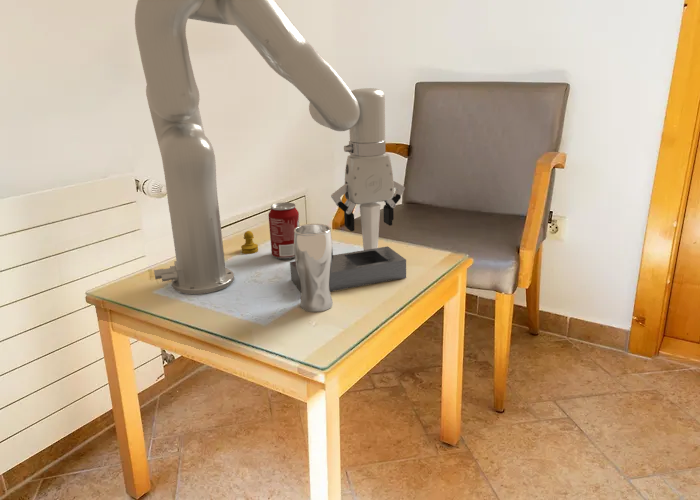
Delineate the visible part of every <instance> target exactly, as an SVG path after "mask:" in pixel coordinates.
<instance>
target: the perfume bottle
mask: <svg viewBox="0 0 700 500" xmlns="http://www.w3.org/2000/svg"><path fill="white" fill-rule="evenodd" d="M359 212H360V213H359V215H360V225H361V235H362V246H363V247H362V248H363V250H369V249H375V248H379V234H380V232H379V231H380V217H381V216H380V215H381V204H380V203H379V202H375V203H367V204H359Z"/></svg>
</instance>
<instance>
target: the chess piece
mask: <svg viewBox="0 0 700 500" xmlns="http://www.w3.org/2000/svg"><path fill="white" fill-rule="evenodd" d="M254 238H255V236H254V233H253V232H252V231H250V230H247V231H245V232H244V234H243V239H244V240H245V242H244V244H243V245H241V246H240V247H241V253H242V254H245V255H253V254H256V253H258V252H259V245H258V244H257V243H255V242H254V240H253V239H254Z"/></svg>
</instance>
